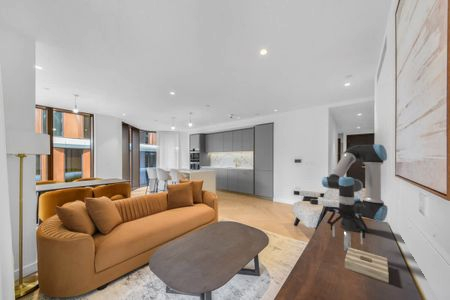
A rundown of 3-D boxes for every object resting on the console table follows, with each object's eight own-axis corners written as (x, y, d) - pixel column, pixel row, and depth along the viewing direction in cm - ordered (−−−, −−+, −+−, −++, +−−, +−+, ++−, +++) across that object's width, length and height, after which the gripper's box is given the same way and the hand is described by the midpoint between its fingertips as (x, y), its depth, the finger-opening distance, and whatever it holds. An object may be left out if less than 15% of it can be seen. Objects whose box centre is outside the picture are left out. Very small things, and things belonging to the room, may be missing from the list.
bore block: (348, 254, 99) (348, 247, 99) (387, 266, 89) (386, 258, 89) (344, 268, 87) (344, 259, 87) (388, 283, 77) (388, 274, 77)
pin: (344, 248, 105) (344, 230, 106) (351, 250, 103) (350, 231, 103) (343, 251, 103) (343, 232, 103) (350, 253, 101) (350, 233, 101)
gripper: (321, 200, 109) (321, 235, 108) (374, 209, 93) (374, 249, 92) (324, 198, 115) (324, 231, 114) (374, 206, 98) (375, 244, 98)
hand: (347, 239), depth 103 cm, fingers open, 13 cm apart
